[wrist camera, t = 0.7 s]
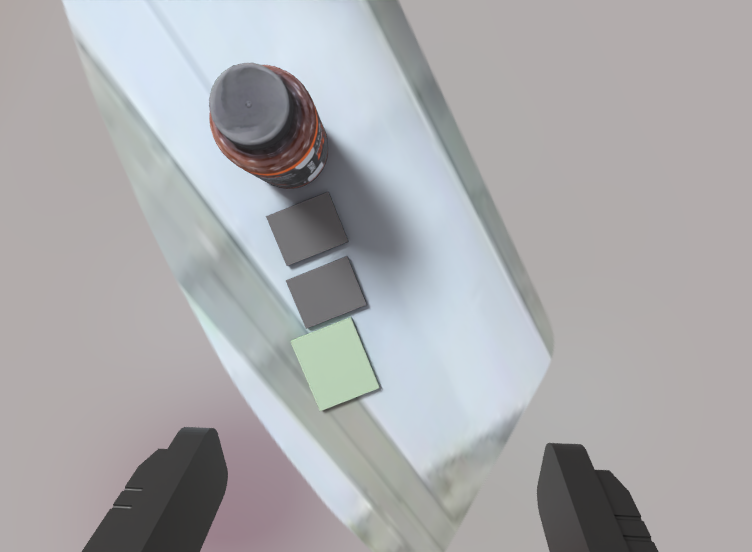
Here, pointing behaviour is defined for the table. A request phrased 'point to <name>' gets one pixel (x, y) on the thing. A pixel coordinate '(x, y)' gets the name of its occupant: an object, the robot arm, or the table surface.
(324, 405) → the track
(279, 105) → the supplement bottle
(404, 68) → the table surface
